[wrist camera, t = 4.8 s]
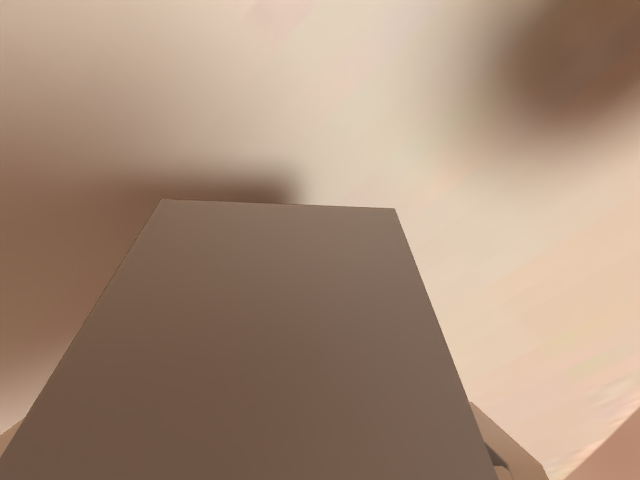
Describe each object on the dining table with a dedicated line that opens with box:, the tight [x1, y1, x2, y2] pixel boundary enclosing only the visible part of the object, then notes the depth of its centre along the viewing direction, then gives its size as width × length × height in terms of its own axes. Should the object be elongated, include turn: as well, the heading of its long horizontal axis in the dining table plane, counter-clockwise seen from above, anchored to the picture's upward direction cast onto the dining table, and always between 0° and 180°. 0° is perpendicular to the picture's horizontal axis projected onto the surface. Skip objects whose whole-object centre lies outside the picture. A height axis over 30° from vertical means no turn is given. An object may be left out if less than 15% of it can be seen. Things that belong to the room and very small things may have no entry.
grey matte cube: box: [0, 199, 499, 480], centre depth 11 cm, size 7×7×9 cm
